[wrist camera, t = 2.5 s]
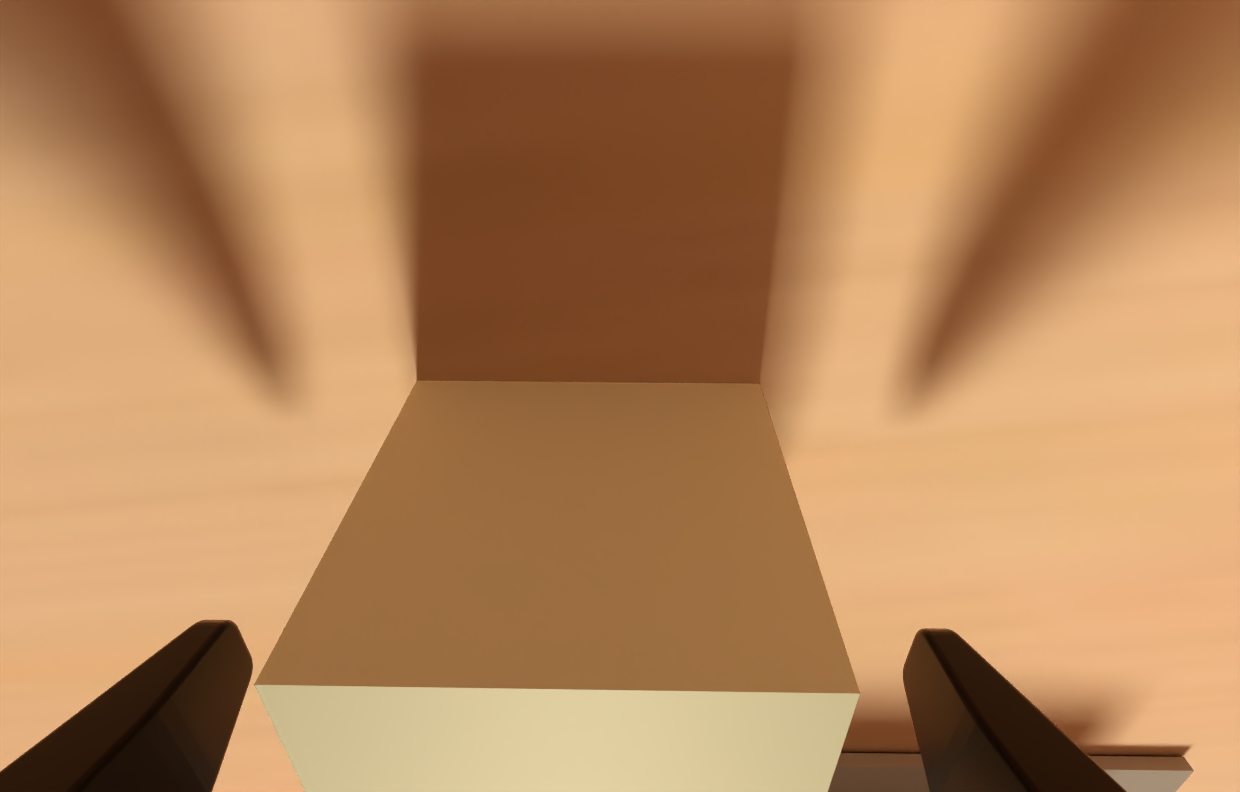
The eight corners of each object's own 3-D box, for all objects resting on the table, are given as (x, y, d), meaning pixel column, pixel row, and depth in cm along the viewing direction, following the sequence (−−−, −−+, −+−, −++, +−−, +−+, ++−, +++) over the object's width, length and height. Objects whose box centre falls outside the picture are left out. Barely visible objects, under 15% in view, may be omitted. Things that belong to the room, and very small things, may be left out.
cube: (460, 606, 12) (372, 932, 8) (418, 377, 10) (254, 684, 5) (727, 609, 12) (778, 940, 8) (759, 381, 10) (859, 694, 5)
